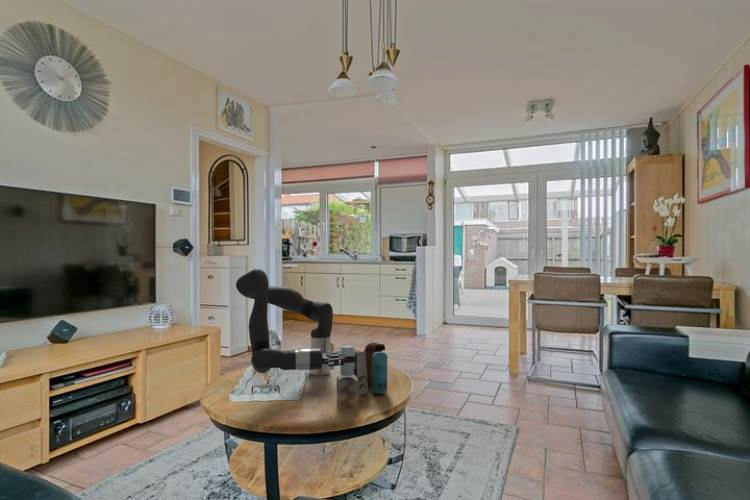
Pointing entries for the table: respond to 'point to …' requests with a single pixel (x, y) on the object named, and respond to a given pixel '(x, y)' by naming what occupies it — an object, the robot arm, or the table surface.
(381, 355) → the beverage bottle
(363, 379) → the coffee box
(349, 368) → the dowel
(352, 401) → the tower base
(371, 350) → the wooden figurine
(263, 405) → the table surface
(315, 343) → the robot arm
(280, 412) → the table surface
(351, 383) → the tower top
